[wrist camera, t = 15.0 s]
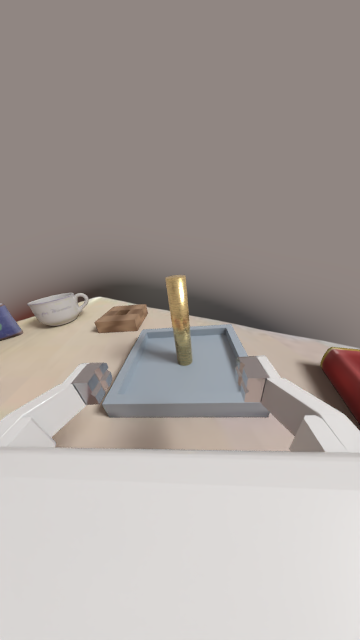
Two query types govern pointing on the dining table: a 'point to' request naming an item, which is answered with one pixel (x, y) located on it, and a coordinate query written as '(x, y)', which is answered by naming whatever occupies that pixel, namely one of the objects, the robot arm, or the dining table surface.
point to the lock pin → (180, 317)
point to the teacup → (57, 308)
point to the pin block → (122, 319)
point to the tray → (182, 377)
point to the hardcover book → (344, 375)
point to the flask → (8, 324)
